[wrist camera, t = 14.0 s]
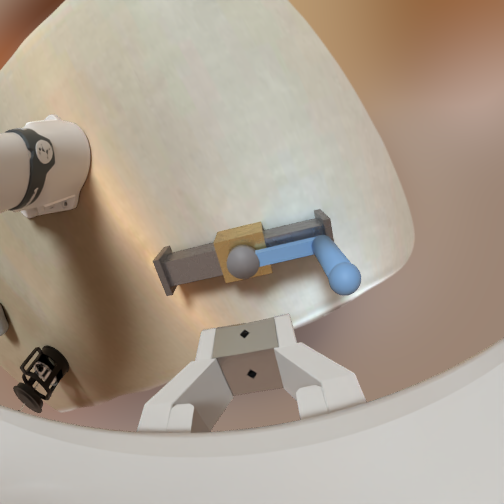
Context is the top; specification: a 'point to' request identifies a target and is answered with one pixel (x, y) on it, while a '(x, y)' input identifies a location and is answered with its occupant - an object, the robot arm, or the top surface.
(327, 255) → the lever
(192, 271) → the valve pipe
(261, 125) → the top surface
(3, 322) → the ceramic mug
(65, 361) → the french press
